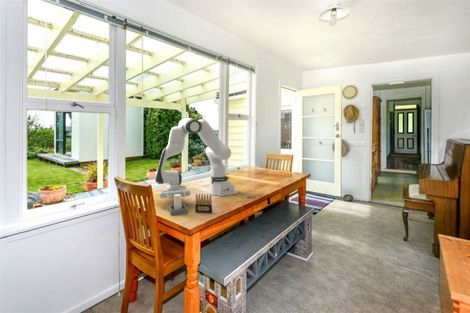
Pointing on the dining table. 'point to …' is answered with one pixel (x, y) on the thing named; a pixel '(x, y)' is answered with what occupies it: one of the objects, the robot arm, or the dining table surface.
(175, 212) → the box
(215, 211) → the dining table surface
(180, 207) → the cream block
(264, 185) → the dining table surface
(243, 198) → the dining table surface
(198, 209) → the ammunition clip
